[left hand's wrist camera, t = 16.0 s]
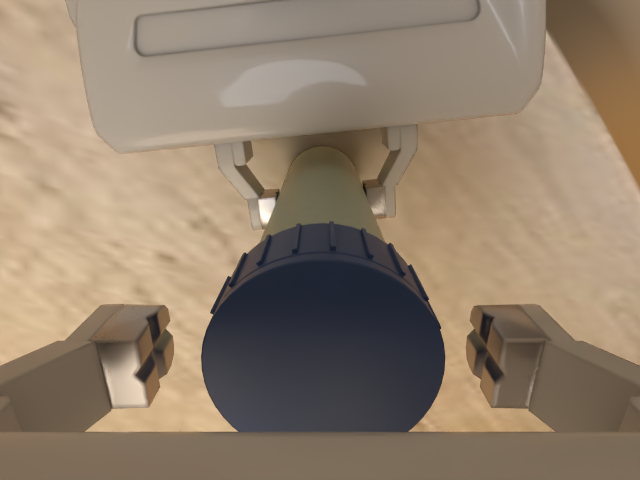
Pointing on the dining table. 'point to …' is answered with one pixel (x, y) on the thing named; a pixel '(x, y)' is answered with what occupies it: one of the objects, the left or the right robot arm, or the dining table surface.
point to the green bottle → (322, 194)
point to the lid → (323, 336)
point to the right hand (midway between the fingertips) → (324, 220)
